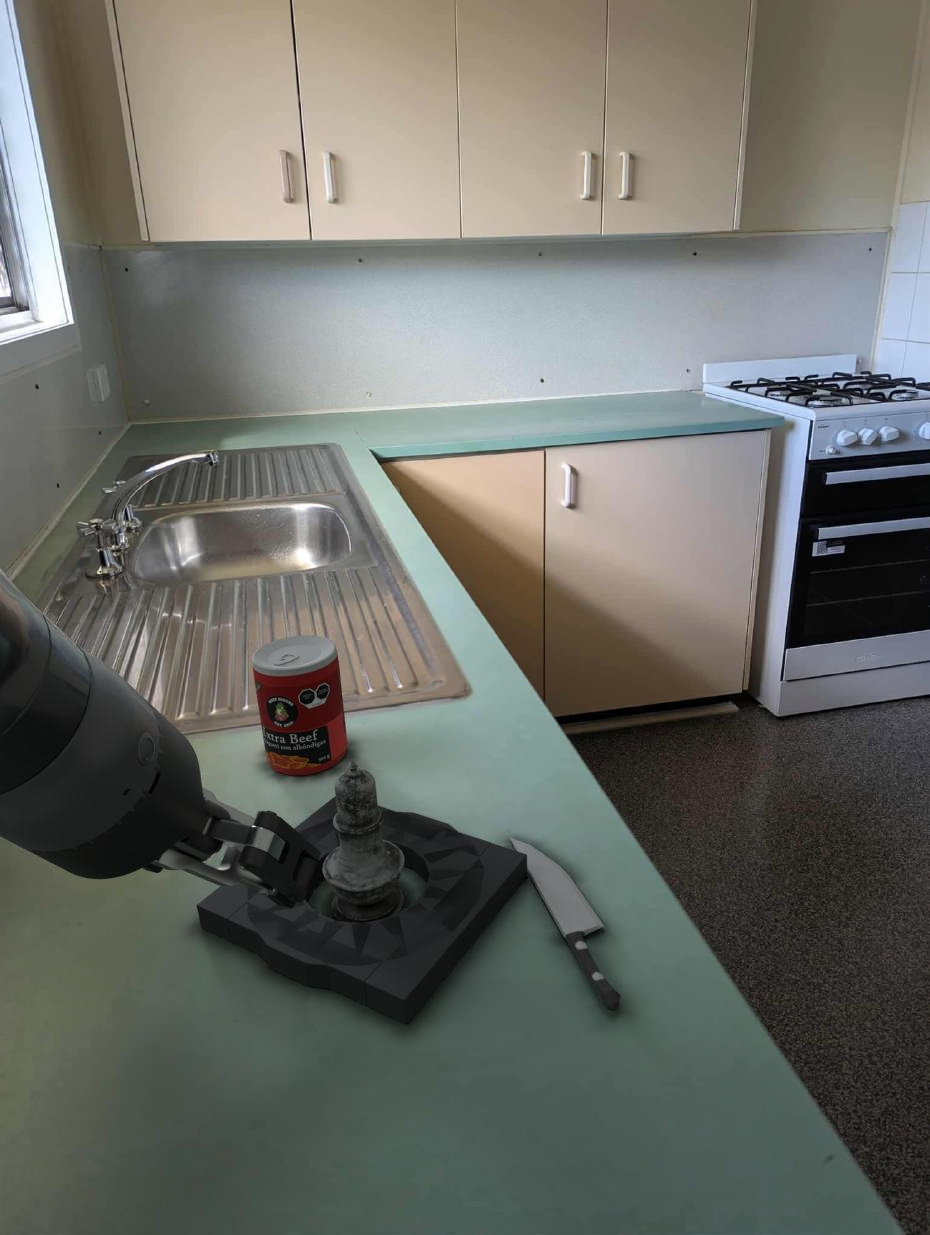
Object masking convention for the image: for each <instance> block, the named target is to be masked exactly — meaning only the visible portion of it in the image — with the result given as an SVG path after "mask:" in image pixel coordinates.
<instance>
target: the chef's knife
mask: <svg viewBox="0 0 930 1235" xmlns="http://www.w3.org/2000/svg"><path fill="white" fill-rule="evenodd" d="M509 839H510V841H511V843H512V845H513V847H514V850H515V851H518V852H521V853H524V854H527V874H528V876H529V877H530V880H531V881H532V883H533V884H534V886H535V888H536V889H537V891H538V894H539V895H540V897H541V899H542V901H543V902H544V904H545V906H546V908H547V910H548V911H549V912H550V915H551V916H552V918H553V921H554V922H555V924H556V926H557V927H558V929H559V931H560V933H561V934H562V937H563V938H564V940H565V941H566V943H567V944H568V946H569V948H570V949H571V950H572V952H573V953H574V955H575V957H576V958H577V961H578V962H579V964H580V966H581V967H582V969H583V972H584V973H585V975H586V976H587V979H588V980H589V982H590V984H591V986H592V987H593V989H594V991H595V992H596V994H597V996H598V998H599V1000H600V1001H601V1003H602V1005H603V1006H604V1008H606V1009H607V1011H611V1012H613V1011H615V1010H618V1007H619V1006H620V1002H621V996H622V995H621V994H620V992H618V990H616V989H615V988H614V987H613V986H612V985H611V984H610V982H609V981H608V980H607V979H606V978H605V977H604V976H603V974H602V972H601V970H600V969H599V967H598V965H597V963H596V961H595V959H594V957H593V955H592V954H591V950H590V949H589V947H588V945H587V943H586V941H585V939H584V937H586V936H587V935H589V934H591V933H593V932H595V931H598V930H599V929H602V928H604V927H605V925H604V923H602V921H601V920H600V918H599V916H598V915H597V914H596V912H595V911H594V909H593V908H592V906H591V905H590V903H589V902H588V900H587V899H586V897H585V896H584V895H583V893H582V892H581V891H580V889H579V888H578V886H577V885H576V883H575V882H574V881H573V879H572V877H571V876H570V875H569V874H568V873H567V872H566V870H564V869H563V868H562V867H561V865H560V864H558V863H557V862H555V861H554V860H553V859H552V858H550V857H548V856H547V855H545V854H544V853H542V852H541V851H540V850H538V849H537V848H536V847H534V846H532V845H531V844H530V843H529V844H528V843H527V842H524V841H521V840H518V839H516V838H513V837H511V836H509Z"/></svg>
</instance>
